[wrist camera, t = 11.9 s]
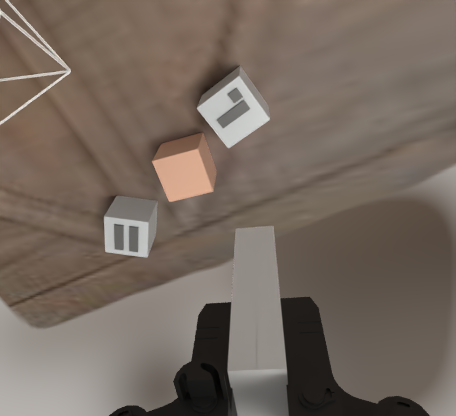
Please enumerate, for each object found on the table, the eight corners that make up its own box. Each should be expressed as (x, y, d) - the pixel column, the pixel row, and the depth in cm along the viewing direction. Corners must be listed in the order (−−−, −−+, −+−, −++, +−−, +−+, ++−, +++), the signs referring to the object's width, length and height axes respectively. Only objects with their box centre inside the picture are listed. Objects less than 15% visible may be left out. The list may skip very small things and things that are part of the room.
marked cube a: (117, 228, 50) (104, 253, 46) (117, 195, 48) (103, 217, 43) (156, 233, 50) (146, 258, 46) (157, 200, 48) (147, 223, 43)
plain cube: (177, 181, 47) (169, 202, 42) (161, 143, 44) (151, 161, 40) (216, 171, 46) (213, 191, 41) (203, 131, 43) (197, 148, 39)
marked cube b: (230, 131, 43) (228, 149, 38) (202, 94, 41) (196, 109, 37) (268, 104, 41) (270, 120, 37) (240, 65, 39) (239, 76, 35)
